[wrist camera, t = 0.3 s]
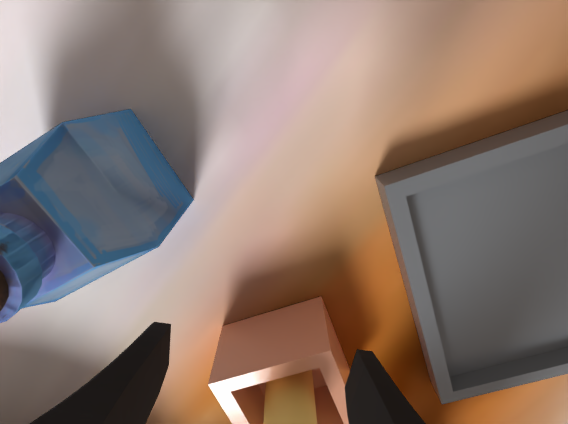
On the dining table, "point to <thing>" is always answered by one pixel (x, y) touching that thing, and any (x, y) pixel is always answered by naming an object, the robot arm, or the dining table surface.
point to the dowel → (290, 400)
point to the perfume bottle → (82, 207)
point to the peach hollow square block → (280, 361)
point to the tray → (486, 257)
